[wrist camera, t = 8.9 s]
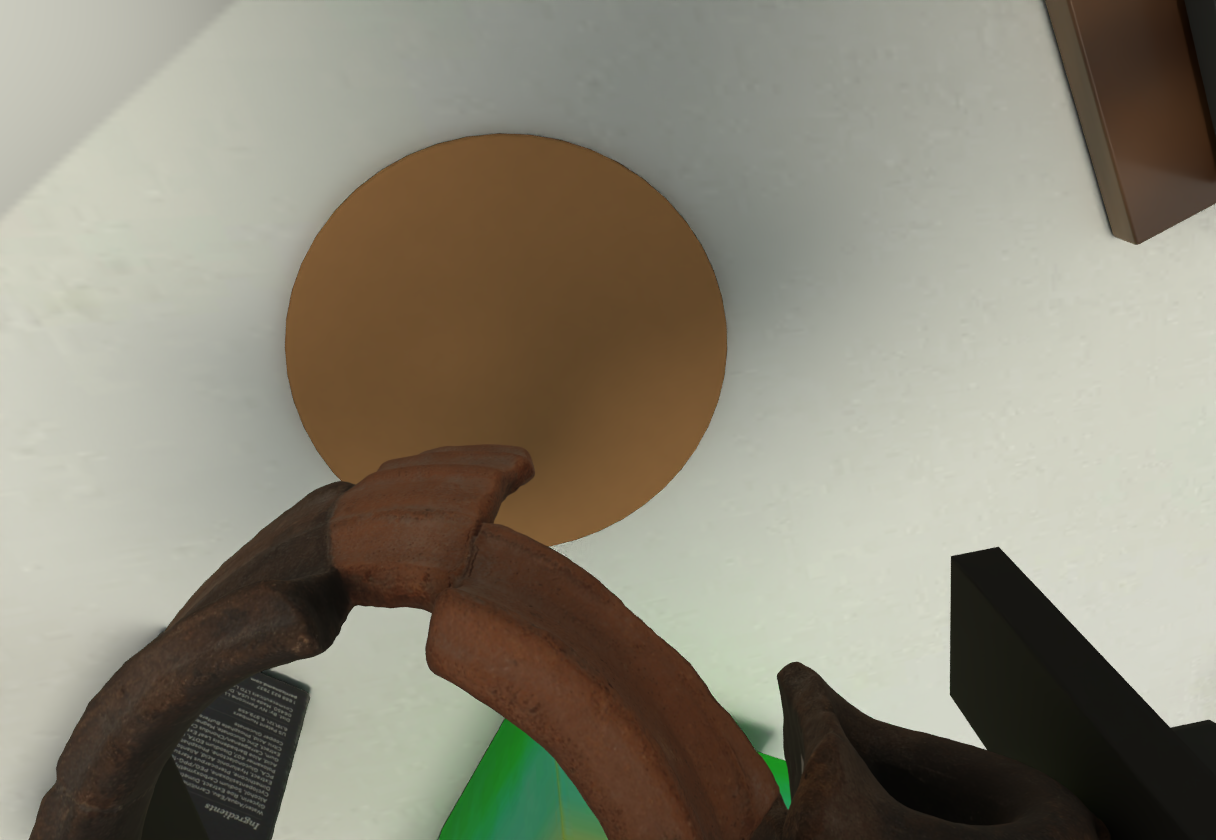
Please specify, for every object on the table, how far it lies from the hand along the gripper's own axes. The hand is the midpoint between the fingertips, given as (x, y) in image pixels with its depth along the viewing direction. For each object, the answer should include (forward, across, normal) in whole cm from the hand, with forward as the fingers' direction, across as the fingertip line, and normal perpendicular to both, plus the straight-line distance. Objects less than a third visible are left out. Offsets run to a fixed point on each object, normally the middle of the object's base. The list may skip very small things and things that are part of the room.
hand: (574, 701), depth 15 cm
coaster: (+15, 0, 0) cm, 15 cm away
